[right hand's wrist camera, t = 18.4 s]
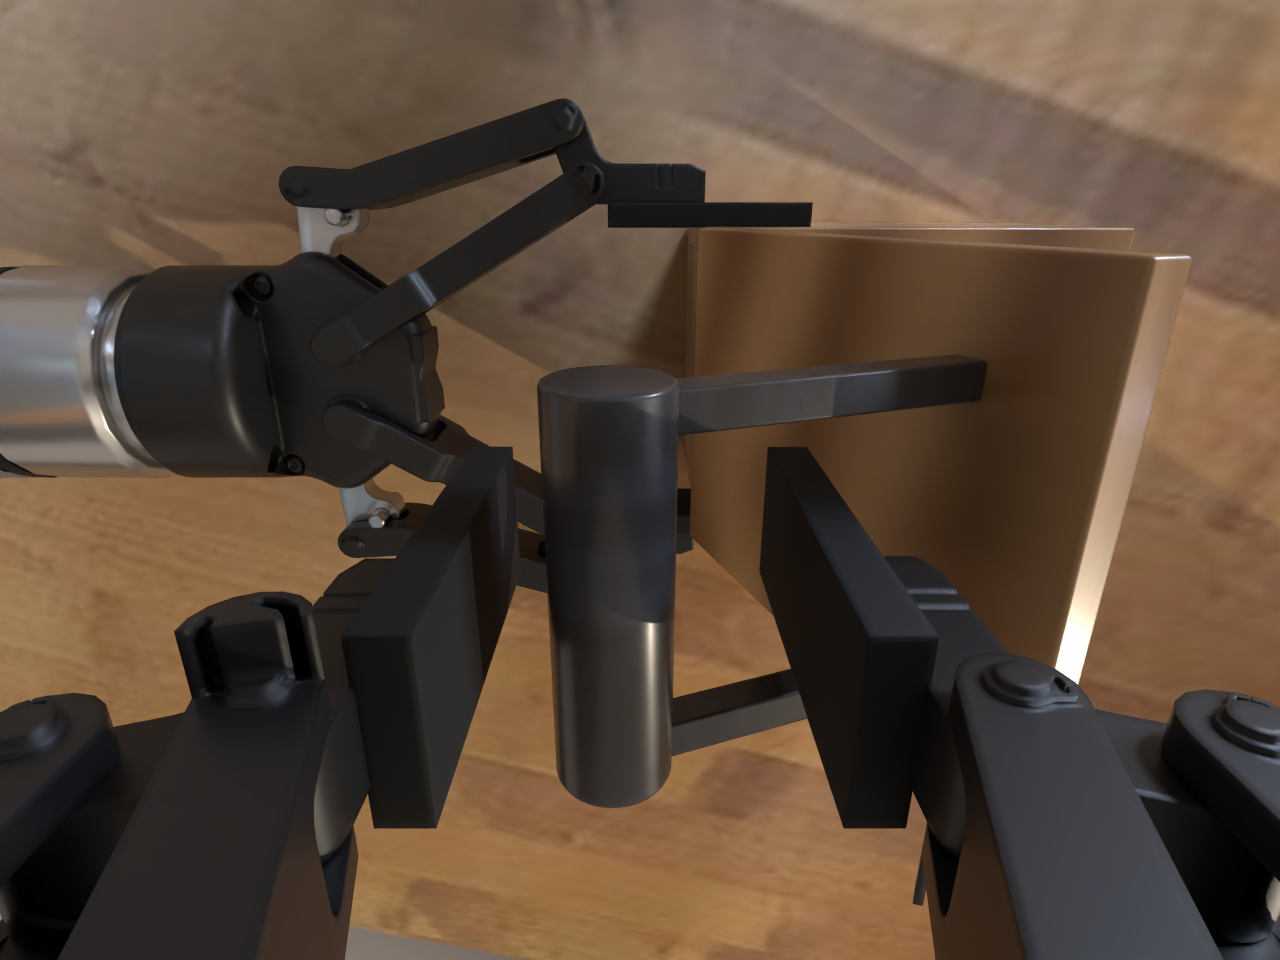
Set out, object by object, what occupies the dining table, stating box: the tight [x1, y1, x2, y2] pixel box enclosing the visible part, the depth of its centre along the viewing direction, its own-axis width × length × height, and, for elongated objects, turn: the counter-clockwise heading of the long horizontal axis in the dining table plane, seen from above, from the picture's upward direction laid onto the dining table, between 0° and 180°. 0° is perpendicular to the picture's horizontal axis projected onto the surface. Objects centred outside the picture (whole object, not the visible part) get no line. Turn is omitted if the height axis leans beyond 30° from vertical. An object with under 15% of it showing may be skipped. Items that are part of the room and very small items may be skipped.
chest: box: [683, 222, 1134, 486], centre depth 28 cm, size 13×10×9 cm
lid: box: [537, 228, 1191, 808], centre depth 16 cm, size 14×10×8 cm
